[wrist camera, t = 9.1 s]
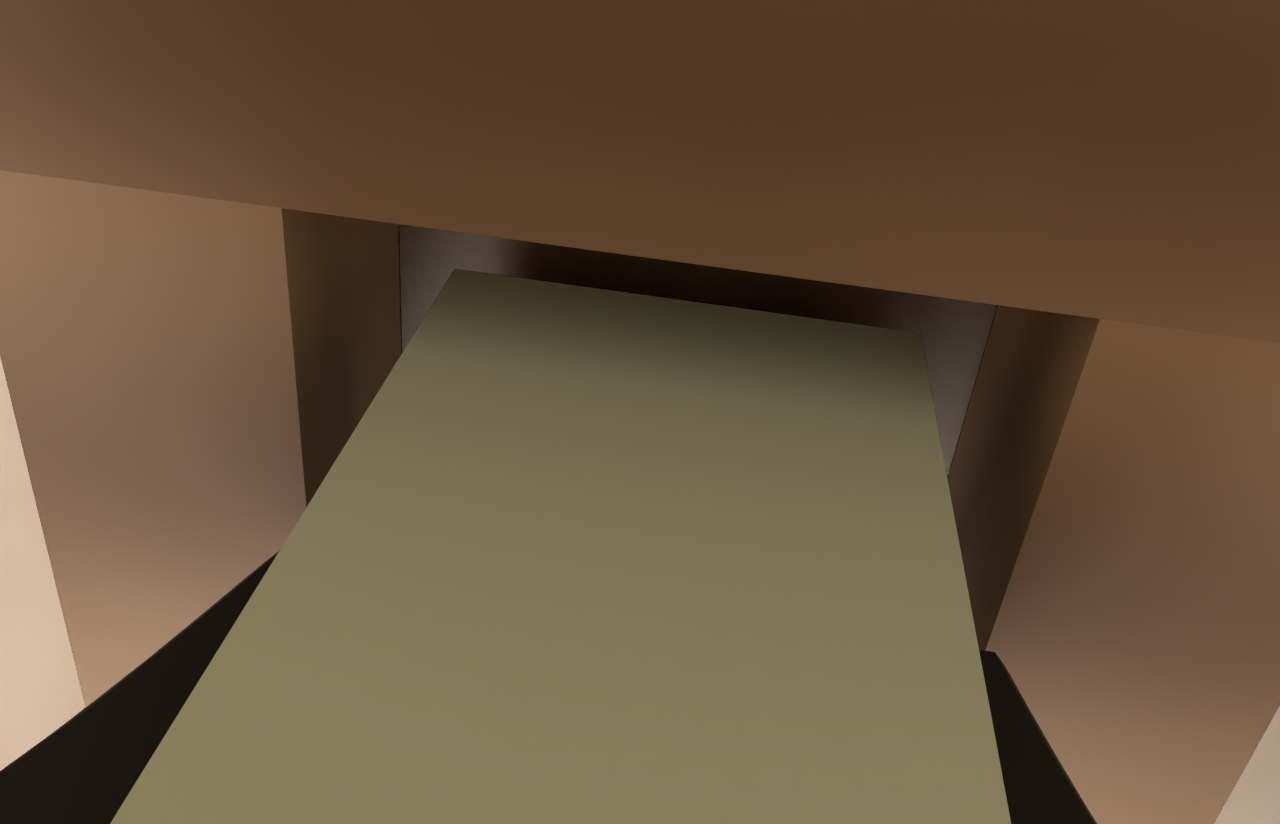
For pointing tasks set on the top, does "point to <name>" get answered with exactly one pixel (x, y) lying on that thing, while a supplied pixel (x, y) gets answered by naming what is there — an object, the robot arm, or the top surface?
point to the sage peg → (608, 588)
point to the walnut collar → (690, 233)
